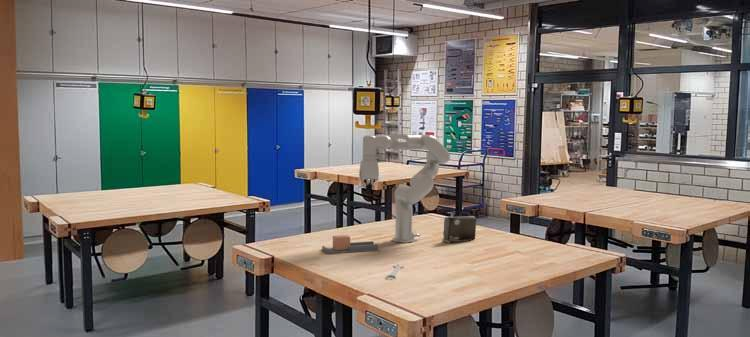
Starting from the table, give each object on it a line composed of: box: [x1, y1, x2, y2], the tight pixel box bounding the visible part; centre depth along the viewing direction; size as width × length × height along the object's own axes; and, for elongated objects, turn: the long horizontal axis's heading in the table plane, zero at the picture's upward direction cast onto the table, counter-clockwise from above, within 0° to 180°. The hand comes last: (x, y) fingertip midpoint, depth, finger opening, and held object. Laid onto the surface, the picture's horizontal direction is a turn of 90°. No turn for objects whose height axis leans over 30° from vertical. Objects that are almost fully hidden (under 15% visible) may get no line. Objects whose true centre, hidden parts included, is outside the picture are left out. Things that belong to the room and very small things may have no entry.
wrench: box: [384, 264, 405, 281], centre depth 266 cm, size 25×2×5 cm
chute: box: [321, 240, 380, 255], centre depth 307 cm, size 28×10×3 cm, turn 110°
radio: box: [441, 215, 477, 244], centre depth 335 cm, size 23×9×15 cm, turn 117°
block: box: [332, 234, 351, 250], centre depth 305 cm, size 8×5×6 cm, turn 110°
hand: (368, 191), depth 321 cm, fingers closed
